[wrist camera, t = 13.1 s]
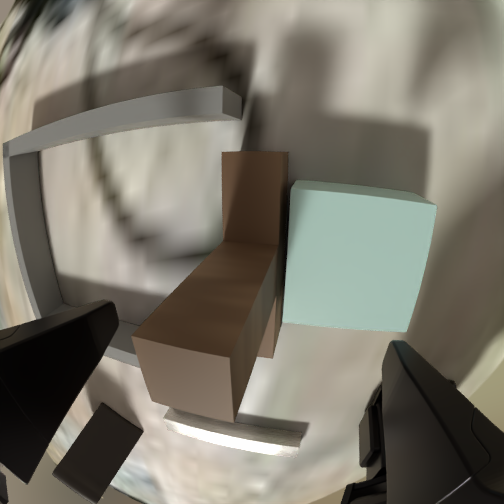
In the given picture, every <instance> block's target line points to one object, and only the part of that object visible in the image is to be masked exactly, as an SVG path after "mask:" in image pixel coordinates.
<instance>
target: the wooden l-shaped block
mask: <svg viewBox="0 0 504 504" xmlns="http://www.w3.org/2000/svg"><path fill="white" fill-rule="evenodd" d="M287 189H288V152H266V151H236V152H222V212H223V242H222V243H221V244H220V245H219V246H218V247H217V248H216V249H215V250H214V251H213V252H212V253H211V254H210V255H209V256H208V257H207V258H206V259H205V260H204V261H203V262H202V263H201V264H200V265H199V266H198V267H197V268H196V269H195V270H194V271H193V272H192V273H191V274H190V275H189V276H188V277H187V278H186V279H185V280H184V281H183V282H182V283H181V284H180V285H179V286H178V287H177V288H176V289H175V290H174V291H173V292H172V293H171V294H170V295H169V296H168V297H167V298H166V299H165V300H164V301H163V302H162V303H161V305H160V306H159V307H158V308H157V309H156V310H155V311H154V312H153V313H152V314H151V315H150V316H149V317H148V318H147V319H146V320H145V321H144V322H143V323H142V324H141V325H140V327H139V328H138V329H137V330H136V331H135V332H134V333H133V334H132V335H131V337H132V341H133V345H134V348H135V351H136V355H137V358H138V361H139V365H140V368H141V371H142V374H143V377H144V380H145V383H146V386H147V389H148V392H149V394H150V397H151V400H152V401H153V402H156V403H159V404H162V405H166V406H169V407H172V408H176V409H179V410H182V411H186V412H190V413H193V414H197V415H201V416H205V417H209V418H213V419H218V420H222V421H227V422H232V423H234V421H235V419H236V416H237V413H238V410H239V407H240V404H241V402H242V399H243V396H244V393H245V390H246V387H247V384H248V381H249V379H250V376H251V373H252V370H253V367H254V364H255V361H256V358H257V356H258V357H265V358H272V359H273V355H274V351H275V347H276V344H277V340H278V336H279V332H280V327H281V314H282V298H283V282H284V263H285V243H286V219H287Z"/></svg>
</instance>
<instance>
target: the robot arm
mask: <svg viewBox="0 0 504 504" xmlns="http://www.w3.org/2000/svg"><path fill="white" fill-rule="evenodd" d="M118 327H119V319H118V315H117V311H116V307H115V304H114V303H113V302H112V301H108V300H100V301H97V302H94V303H90V304H87V305H84V306H80V307H77V308H74V309H70V310H67V311H64V312H60V313H57V314H54V315H50V316H47V317H44V318H40V319H37V320H34V321H30V322H27V323H24V324H21V325H17V326H14V327H10V328H7V329H3V330H0V469H1V468H2V467H3V466H5V467H6V468H7V469H8V470H9V471H10V472H12V473H13V474H14V475H15V476H16V477H17V478H18V479H20V480H21V481H22V482H23V483H25V484H26V485H27V484H28V483H29V481H30V480H31V478H32V475H33V474H34V472H35V469H36V468H37V466H38V464H39V462H40V460H41V458H42V457H43V455H44V453H45V451H46V449H47V447H48V446H49V443H50V442H51V440H52V438H53V436H54V435H55V433H56V431H57V429H58V428H59V426H60V424H61V423H62V421H63V419H64V417H65V416H66V414H67V412H68V411H69V409H70V408H71V406H72V404H73V403H74V401H75V399H76V398H77V396H78V395H79V393H80V391H81V390H82V388H83V387H84V385H85V383H86V382H87V380H88V379H89V377H90V376H91V374H92V373H93V371H94V370H95V368H96V367H97V365H98V363H99V362H100V360H101V359H102V357H103V355H104V353H105V351H106V349H107V347H108V346H109V344H110V342H111V340H112V338H113V336H114V335H115V333H116V331H117V329H118ZM359 453H360V459H359V465H360V466H361V467H362V468H363V467H367V480H366V481H363V482H359V483H351V484H348V485H347V486H346V489H345V492H344V495H343V498H342V501H341V504H504V432H502V431H501V430H500V429H499V428H498V427H497V426H495V425H494V424H493V423H492V422H491V421H490V420H489V419H488V418H487V417H486V416H484V414H483V413H481V412H480V411H479V410H478V409H477V408H476V407H475V408H474V405H473V404H472V403H471V402H470V401H469V400H468V399H467V398H466V397H465V396H464V395H463V394H462V393H461V392H460V391H458V390H457V389H456V384H455V382H454V381H448V380H447V379H446V378H445V377H444V376H442V375H441V374H440V373H439V372H438V371H437V370H436V369H435V368H434V367H433V366H432V365H430V364H429V363H428V362H427V361H426V360H425V359H424V358H423V357H422V356H421V355H420V354H418V353H417V352H416V351H415V350H414V349H413V348H412V347H411V346H410V345H408V344H407V343H406V342H405V341H403V340H392V341H391V342H390V343H389V346H388V349H387V351H386V354H385V357H384V360H383V363H382V385H381V386H380V387H379V389H378V392H377V394H376V396H375V398H374V401H373V403H372V405H370V406H369V407H368V408H367V410H366V412H365V414H364V416H363V418H362V420H361V422H360V424H359ZM7 503H8V494H7V486H6V476H5V475H4V474H3V473H2V472H1V471H0V504H7Z"/></svg>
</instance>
